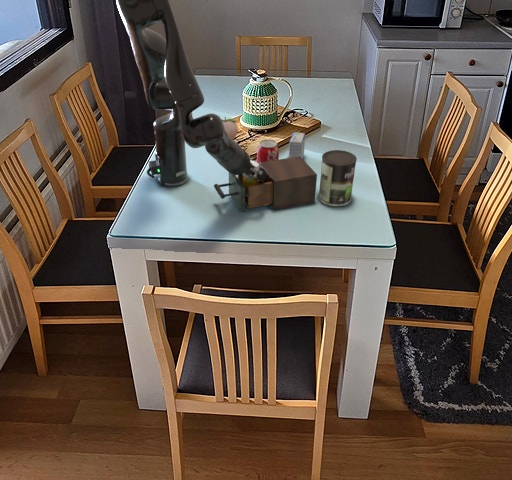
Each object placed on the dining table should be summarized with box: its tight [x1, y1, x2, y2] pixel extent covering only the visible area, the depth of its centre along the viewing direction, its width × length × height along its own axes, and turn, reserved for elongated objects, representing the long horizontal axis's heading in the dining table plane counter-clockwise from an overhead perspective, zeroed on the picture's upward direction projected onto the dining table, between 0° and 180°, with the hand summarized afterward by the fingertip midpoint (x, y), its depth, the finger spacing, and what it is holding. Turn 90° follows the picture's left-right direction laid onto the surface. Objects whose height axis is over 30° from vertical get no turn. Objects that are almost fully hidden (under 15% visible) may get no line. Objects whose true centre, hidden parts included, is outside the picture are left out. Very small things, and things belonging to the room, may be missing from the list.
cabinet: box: [259, 156, 318, 211], centre depth 177 cm, size 14×13×10 cm
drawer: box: [213, 168, 273, 213], centre depth 173 cm, size 18×12×8 cm, turn 110°
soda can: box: [256, 139, 280, 164], centre depth 186 cm, size 7×7×12 cm
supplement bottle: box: [243, 160, 260, 196], centre depth 172 cm, size 5×5×10 cm
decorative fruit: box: [221, 116, 239, 141], centre depth 207 cm, size 9×8×10 cm
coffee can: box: [318, 149, 358, 207], centre depth 175 cm, size 10×10×14 cm
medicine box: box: [288, 132, 306, 160], centre depth 197 cm, size 8×4×9 cm, turn 168°
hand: (255, 178), depth 173 cm, fingers closed on supplement bottle, 5 cm apart
